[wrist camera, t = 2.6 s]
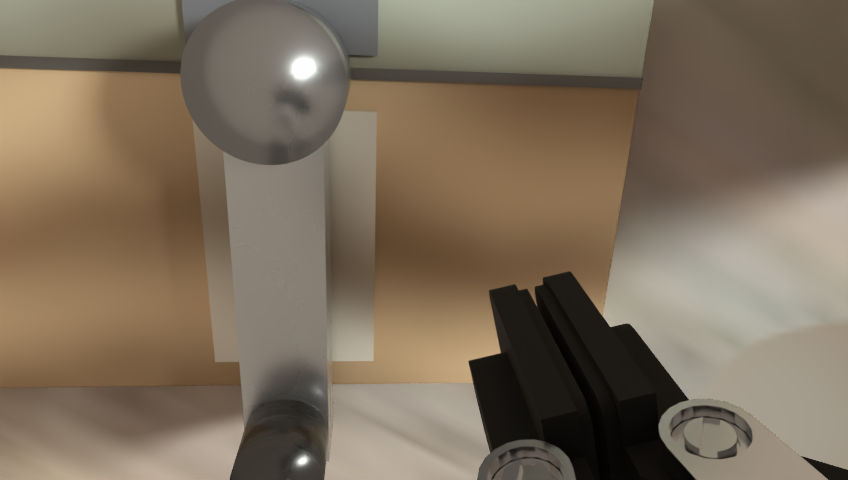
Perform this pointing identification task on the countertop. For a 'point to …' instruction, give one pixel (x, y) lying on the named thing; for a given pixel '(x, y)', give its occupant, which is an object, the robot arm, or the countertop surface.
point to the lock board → (349, 184)
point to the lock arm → (275, 215)
